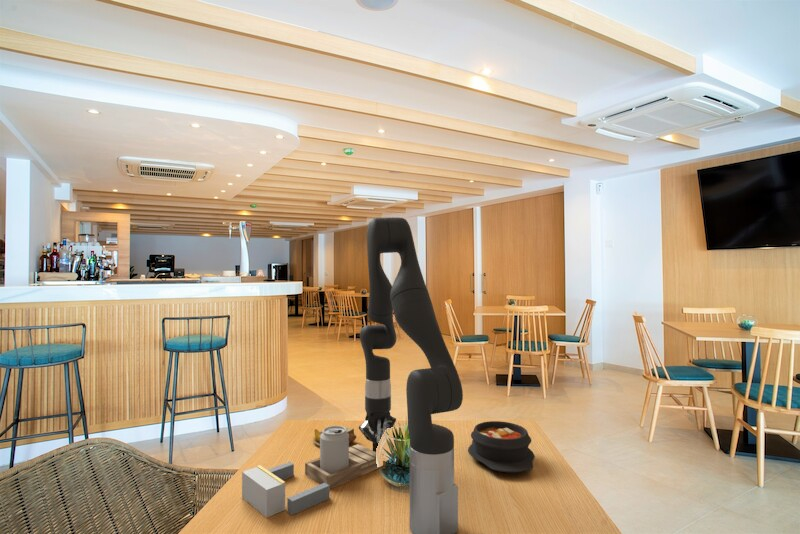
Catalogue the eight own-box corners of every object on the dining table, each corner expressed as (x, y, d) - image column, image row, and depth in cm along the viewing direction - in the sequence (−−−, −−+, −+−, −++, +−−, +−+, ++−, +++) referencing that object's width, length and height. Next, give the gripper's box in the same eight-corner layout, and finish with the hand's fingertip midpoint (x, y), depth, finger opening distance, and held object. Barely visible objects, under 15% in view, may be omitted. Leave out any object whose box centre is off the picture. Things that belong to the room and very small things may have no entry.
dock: (329, 498, 102) (329, 471, 102) (273, 523, 91) (273, 494, 92) (289, 473, 114) (289, 449, 114) (236, 492, 104) (236, 466, 104)
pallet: (383, 466, 119) (383, 455, 119) (329, 489, 106) (329, 477, 106) (358, 454, 126) (358, 444, 126) (305, 474, 114) (305, 463, 114)
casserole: (550, 478, 112) (549, 446, 112) (479, 480, 111) (479, 447, 111) (517, 441, 137) (517, 414, 137) (460, 442, 135) (460, 415, 136)
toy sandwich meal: (339, 431, 145) (339, 417, 145) (362, 444, 135) (362, 428, 135) (305, 441, 137) (305, 426, 137) (327, 454, 127) (327, 438, 127)
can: (343, 482, 109) (343, 435, 109) (315, 479, 111) (315, 433, 111) (352, 469, 117) (352, 425, 117) (326, 467, 118) (326, 423, 118)
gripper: (368, 401, 117) (368, 465, 117) (403, 392, 127) (403, 451, 126) (351, 395, 123) (351, 456, 122) (386, 387, 132) (386, 444, 132)
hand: (377, 453), depth 124 cm, fingers closed
